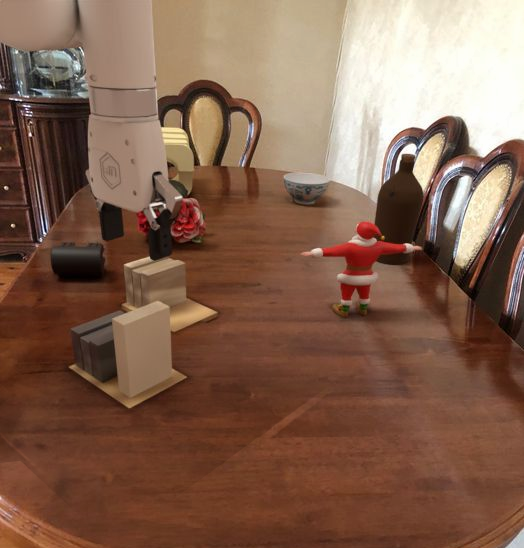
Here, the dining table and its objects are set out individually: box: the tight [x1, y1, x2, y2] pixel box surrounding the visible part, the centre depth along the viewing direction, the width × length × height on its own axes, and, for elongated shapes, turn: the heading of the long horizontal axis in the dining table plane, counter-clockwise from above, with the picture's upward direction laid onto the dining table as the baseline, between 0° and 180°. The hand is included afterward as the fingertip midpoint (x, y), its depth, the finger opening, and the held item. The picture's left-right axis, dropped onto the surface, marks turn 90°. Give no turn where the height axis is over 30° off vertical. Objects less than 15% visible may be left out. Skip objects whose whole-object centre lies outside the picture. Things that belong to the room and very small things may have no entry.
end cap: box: [50, 241, 107, 278], centre depth 111 cm, size 10×7×7 cm
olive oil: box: [373, 153, 424, 265], centre depth 127 cm, size 11×11×25 cm
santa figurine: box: [300, 221, 423, 318], centre depth 100 cm, size 25×6×19 cm, turn 107°
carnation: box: [135, 179, 207, 244], centre depth 139 cm, size 16×18×35 cm
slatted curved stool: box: [161, 126, 195, 196], centre depth 169 cm, size 30×16×18 cm, turn 10°
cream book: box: [112, 301, 173, 398], centre depth 76 cm, size 3×8×12 cm, turn 140°
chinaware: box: [283, 172, 331, 206], centre depth 172 cm, size 15×15×8 cm
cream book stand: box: [121, 256, 219, 333], centre depth 98 cm, size 15×11×9 cm
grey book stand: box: [68, 310, 188, 409], centre depth 80 cm, size 15×11×8 cm
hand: (136, 247), depth 69 cm, fingers open, 9 cm apart
